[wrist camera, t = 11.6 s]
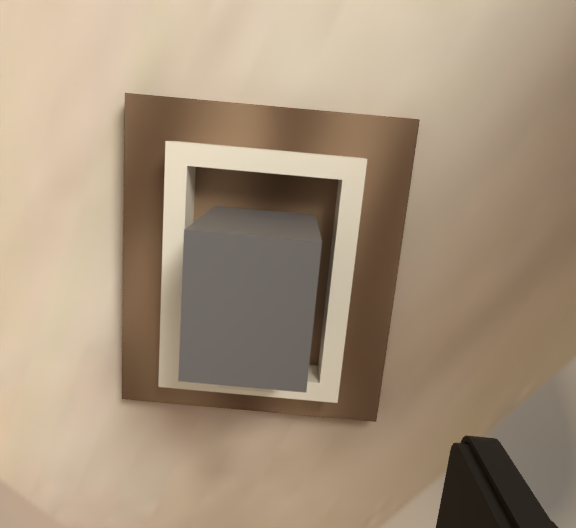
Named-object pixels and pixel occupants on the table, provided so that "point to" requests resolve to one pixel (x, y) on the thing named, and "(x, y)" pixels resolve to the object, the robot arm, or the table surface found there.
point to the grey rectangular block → (249, 299)
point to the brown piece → (273, 197)
